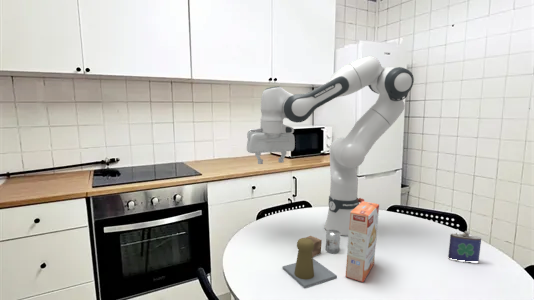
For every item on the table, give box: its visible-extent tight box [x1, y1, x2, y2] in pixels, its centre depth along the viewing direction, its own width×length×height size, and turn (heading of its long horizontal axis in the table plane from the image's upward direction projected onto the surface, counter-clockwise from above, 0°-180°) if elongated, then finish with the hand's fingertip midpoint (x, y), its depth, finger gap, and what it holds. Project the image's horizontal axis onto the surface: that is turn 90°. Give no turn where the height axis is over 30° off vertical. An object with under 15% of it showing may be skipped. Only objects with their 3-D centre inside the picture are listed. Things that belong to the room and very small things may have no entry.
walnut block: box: [305, 235, 323, 258], centre depth 108 cm, size 5×5×5 cm
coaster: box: [282, 258, 338, 289], centre depth 95 cm, size 12×12×1 cm
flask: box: [447, 230, 482, 262], centre depth 104 cm, size 9×3×11 cm, turn 74°
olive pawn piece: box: [294, 237, 314, 279], centre depth 92 cm, size 6×6×11 cm
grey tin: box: [324, 229, 341, 255], centre depth 110 cm, size 5×5×7 cm
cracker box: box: [345, 200, 380, 283], centre depth 96 cm, size 14×6×21 cm, turn 148°
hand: (270, 163), depth 122 cm, fingers open, 8 cm apart
